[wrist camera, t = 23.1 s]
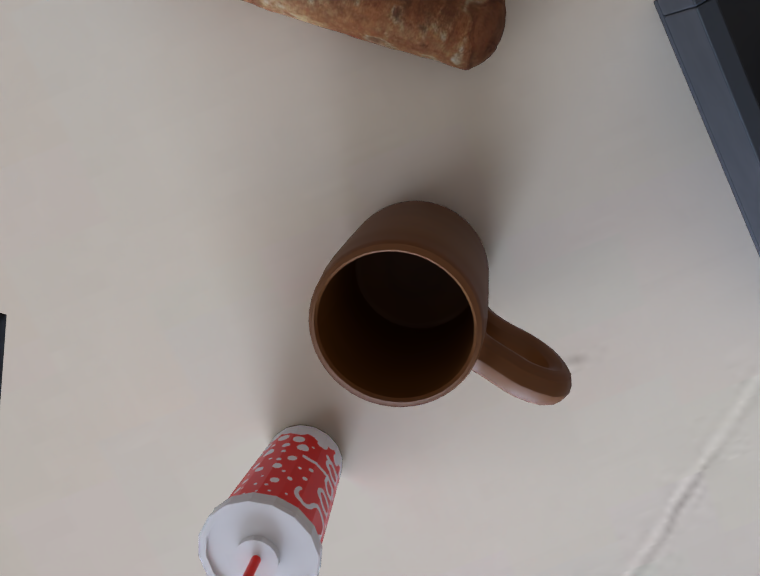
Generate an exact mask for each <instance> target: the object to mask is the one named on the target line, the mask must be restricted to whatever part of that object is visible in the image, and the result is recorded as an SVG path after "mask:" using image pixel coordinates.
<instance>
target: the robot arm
mask: <svg viewBox="0 0 760 576" xmlns="http://www.w3.org/2000/svg"><path fill="white" fill-rule="evenodd" d="M5 328H6V314H2V313H0V398H1V384H2V370H3V356H4V342H5Z"/></svg>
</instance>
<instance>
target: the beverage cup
mask: <svg viewBox="0 0 760 576" xmlns="http://www.w3.org/2000/svg"><path fill="white" fill-rule="evenodd" d="M341 471H342V456H341V453H340V451H339V448H338V445H337V444H336V443H335V442H334V441H333V440H332V439H331V437H330V436H329V435H328V434H326V433H324V432H322V431H320V430H319V429H317V428H315V427H309V426H303V425H298V426H293V427H288V428H286V429H284V430H283V431H281V432H280V433H279V434H277V435H276V436H275V437H274V438H273V440H272V441H271V442H270V444H269V445H268V446H267V448H266V449H265V450H264V452H263V453H262V454H261V456H260V457H259V458H258V460H257V461H256V462H255V464H254V465H253V466H252V467H251V469H250V470H249V471H248V473H247V474H246V475H245V477H244V478H243V479H242V481H241V482H240V483H239V485H238V486H237V487H236V489H235V490H234V491H233V493H232V494H231V495H230V497H229V498H228V499H227V500H225V501H224V502H223V503H221V504H220V505H218V506H217V507H215V508H214V510H213V512H212V513H211V514H210V515H209V517H208V518H207V520H206V522H205V524H204V526H203V528H202V530H201V532H200V533H199V554H198V555H199V558H200V560H201V562H202V565H203V567H204V569H205V572H206V574H207V576H318V575H319V569H320V567H321V557H322V541H323V538H324V534H325V530H326V527H327V523H328V519H329V516H330V512H331V508H332V505H333V501H334V497H335V494H336V490H337V486H338V483H339V479H340V475H341Z"/></svg>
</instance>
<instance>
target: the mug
mask: <svg viewBox="0 0 760 576" xmlns="http://www.w3.org/2000/svg"><path fill="white" fill-rule="evenodd" d="M488 294H489V268H488V261H487V256H486V253H485V249H484V247H483V245H482V242H481V240H480V238H479V237H478V235H477V233H476V232H475V231H474V229H473V228H472V227H471V226H470V224H469V223H467V222H466V221H465V220H464V219H463V218H462V217H461V216H459V215H458V214H457V213H455V212H453V211H452V210H450V209H448V208H446V207H443V206H441V205H438V204H434V203H430V202H424V201H407V202H400V203H397V204H393V205H390V206H388V207H386V208H383V209H381V210H380V211H378V212H376V213H375V214H373V215H372V216H371V217H370V218H368V219H367V220H366V221H365V222H364V223H363V224H362V225H361V226H360V227H359V228H358V229H357V231H356V232H355V233H354V234H353V235H352V236H351V237H350V238H349V239H348V240H347V242H346V243H345V244H344V245H343V246H342V247H341V249H340V250H339V251H338V252H337V253H336V254H335V256H334V257H333V258H332V260H331V261H330V263H329V264H328V265H327V267H326V268H325V270H324V272H323V274H322V276H321V278H320V280H319V282H318V284H317V286H316V288H315V290H314V293H313V296H312V299H311V304H310V309H309V330H310V335H311V340H312V343H313V346H314V349H315V352H316V354H317V356H318V358H319V360H320V362H321V363H322V365H323V366H324V368H325V369H326V371H327V372H328V373H329V374H330V375H331V376H332V377H333V379H334V380H335V381H337V382H338V383H339V384H340V385H341V386H342V387H343V388H345V389H346V390H348V391H349V392H351V393H352V394H354V395H356V396H358V397H360V398H362V399H364V400H367V401H369V402H372V403H376V404H379V405H385V406H391V407H408V406H416V405H421V404H425V403H428V402H431V401H434V400H436V399H438V398H440V397H442V396H444V395H446V394H447V393H449V392H450V391H452V390H453V389H455V388H456V387H457V386H458V385H459V384H460V383H461V382H462V381H463V380H464V379H465V378H466V377H467V375H468V374H469V373H470V371H471V370H472V371H474V372H476V373H478V374H479V375H481V376H482V377H484V378H485V379H487V380H488V381H490V382H491V383H493V384H495V385H496V386H498V387H499V388H501V389H502V390H504V391H505V392H507V393H509V394H511V395H512V396H514V397H517V398H519V399H522V400H524V401H527V402H530V403H534V404H538V405H554V404H556V403H558V402H560V401H561V400H562V399H564V398H565V397H566V396H567V395H568V394H569V392H570V389H571V373H570V371H569V369H568V367H567V366H566V364H565V362H564V361H563V360H562V359H561V357H560V356H559V355H558V354H557V353H556V352H555V351H554V350H553V349H551V348H550V347H549V346H548V345H546V344H545V343H544V342H542V341H541V340H539V339H538V338H536V337H534V336H533V335H531V334H529V333H528V332H526V331H524V330H522V329H520V328H518V327H516V326H514V325H512V324H510V323H508V322H507V321H505V320H504V319H502V318H501V317H499V316H498V315H496V314H495V313H494V312H493V311H492V310H491V309H490V308H489V307H488Z"/></svg>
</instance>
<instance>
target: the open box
mask: <svg viewBox="0 0 760 576" xmlns="http://www.w3.org/2000/svg"><path fill="white" fill-rule="evenodd" d="M654 4H655V7H656V9H657V12H658V14H659V16H660V19H661V21H662V24H663V26H664V28H665V31H666V33H667V36H668V38H669V40H670V43H671V45H672V48H673V50H674V52H675V55H676V57H677V60H678V62H679V64H680V67H681V69H682V72H683V74H684V76H685V79H686V81H687V84H688V86H689V88H690V91H691V93H692V96H693V98H694V100H695V103H696V105H697V108H698V110H699V112H700V115H701V117H702V120H703V122H704V125H705V127H706V129H707V132H708V134H709V137H710V139H711V141H712V144H713V146H714V149H715V151H716V153H717V156H718V158H719V161H720V163H721V165H722V168H723V170H724V173H725V175H726V177H727V180H728V182H729V185H730V187H731V189H732V192H733V194H734V197H735V199H736V201H737V204H738V206H739V209H740V211H741V213H742V216H743V218H744V221H745V223H746V225H747V228H748V230H749V233H750V235H751V237H752V240H753V242H754V245H755V247H756V249H757V252H758V254H759V257H760V0H655V1H654Z"/></svg>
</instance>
